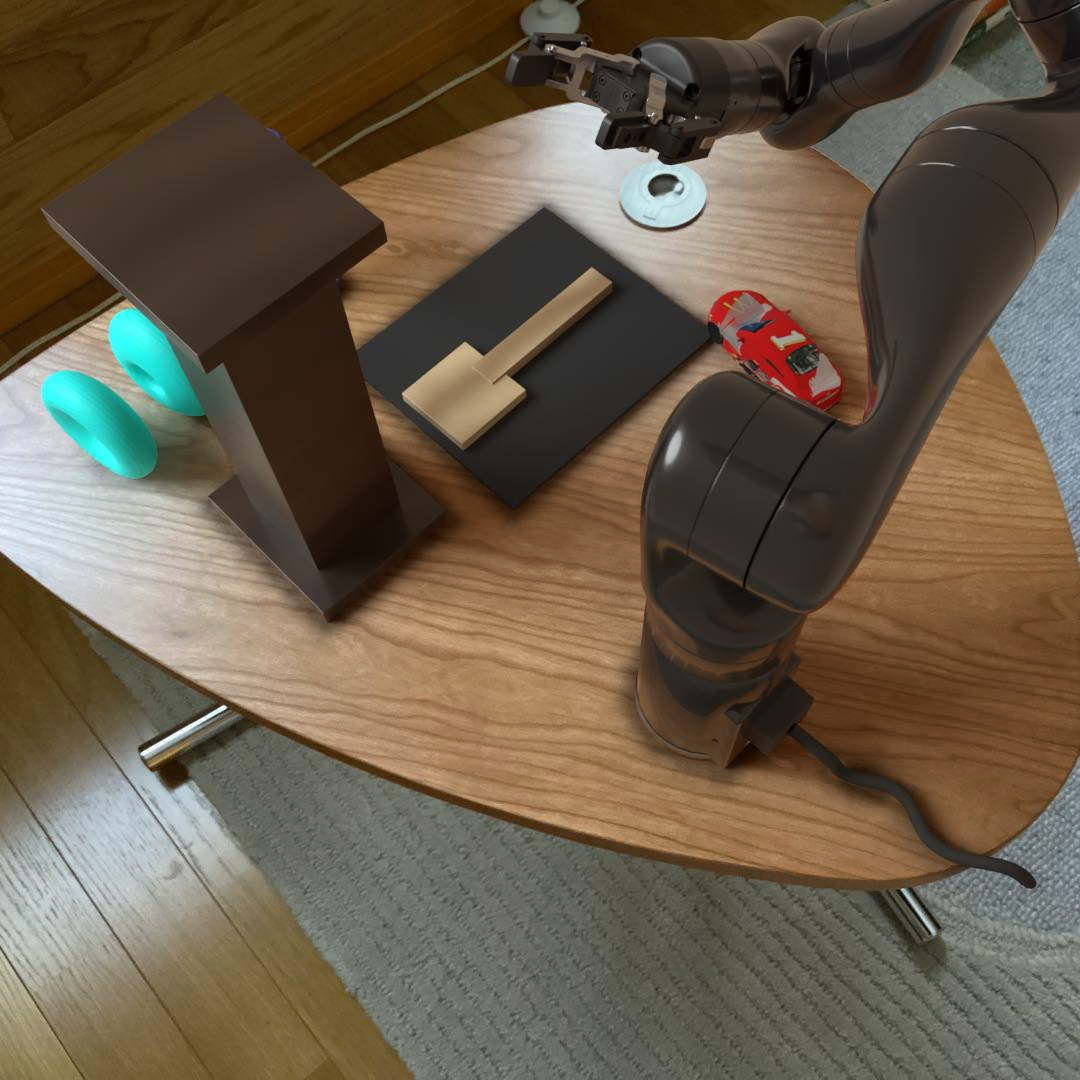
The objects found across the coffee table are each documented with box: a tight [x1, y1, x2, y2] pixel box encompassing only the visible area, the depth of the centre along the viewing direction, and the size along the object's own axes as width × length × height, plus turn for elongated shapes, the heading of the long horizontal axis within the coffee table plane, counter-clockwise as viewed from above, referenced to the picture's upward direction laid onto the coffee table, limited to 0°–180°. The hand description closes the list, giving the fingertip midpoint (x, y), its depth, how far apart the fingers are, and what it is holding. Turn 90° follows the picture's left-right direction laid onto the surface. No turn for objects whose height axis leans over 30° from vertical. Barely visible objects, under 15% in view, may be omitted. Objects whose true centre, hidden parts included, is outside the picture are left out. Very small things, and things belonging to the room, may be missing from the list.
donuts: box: [40, 307, 206, 480], centre depth 89 cm, size 10×10×10 cm
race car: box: [706, 289, 845, 413], centre depth 92 cm, size 13×5×4 cm, turn 33°
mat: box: [356, 206, 713, 511], centre depth 95 cm, size 20×23×1 cm
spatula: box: [402, 268, 612, 450], centre depth 94 cm, size 7×20×1 cm, turn 135°
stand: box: [40, 91, 449, 623], centre depth 75 cm, size 14×12×32 cm
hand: (556, 100), depth 76 cm, fingers open, 8 cm apart
